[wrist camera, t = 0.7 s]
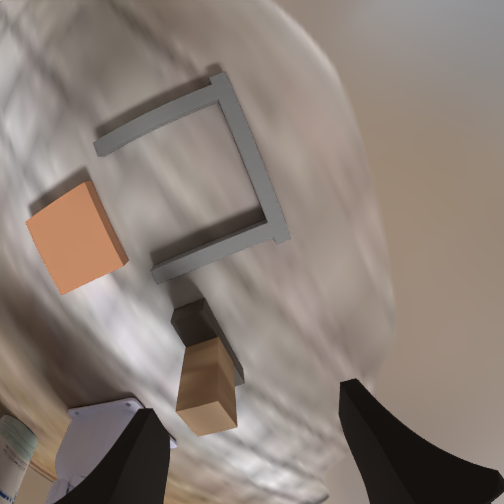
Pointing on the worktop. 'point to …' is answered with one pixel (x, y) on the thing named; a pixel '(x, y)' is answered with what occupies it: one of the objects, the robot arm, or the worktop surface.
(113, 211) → the worktop surface
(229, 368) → the two-tone stacked blocks
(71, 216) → the tile
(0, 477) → the spray paint can
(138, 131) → the frame
